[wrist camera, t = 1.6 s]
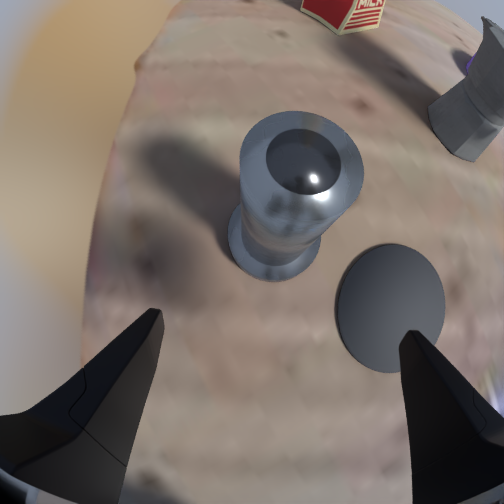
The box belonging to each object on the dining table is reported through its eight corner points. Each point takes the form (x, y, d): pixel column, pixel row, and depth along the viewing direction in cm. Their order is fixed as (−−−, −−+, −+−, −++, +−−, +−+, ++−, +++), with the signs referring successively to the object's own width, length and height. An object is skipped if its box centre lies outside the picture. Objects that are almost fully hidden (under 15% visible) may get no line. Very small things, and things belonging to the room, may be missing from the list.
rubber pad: (401, 394, 21) (402, 394, 20) (310, 324, 22) (311, 324, 22) (458, 294, 23) (460, 293, 22) (382, 220, 24) (384, 219, 23)
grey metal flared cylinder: (280, 300, 22) (325, 288, 10) (210, 243, 23) (175, 170, 11) (332, 232, 23) (409, 160, 11) (265, 180, 24) (284, 72, 12)
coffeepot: (405, 87, 27) (471, -17, 10) (451, 90, 28) (514, 10, 10) (464, 202, 25) (584, 125, 7) (503, 190, 25) (599, 130, 8)
